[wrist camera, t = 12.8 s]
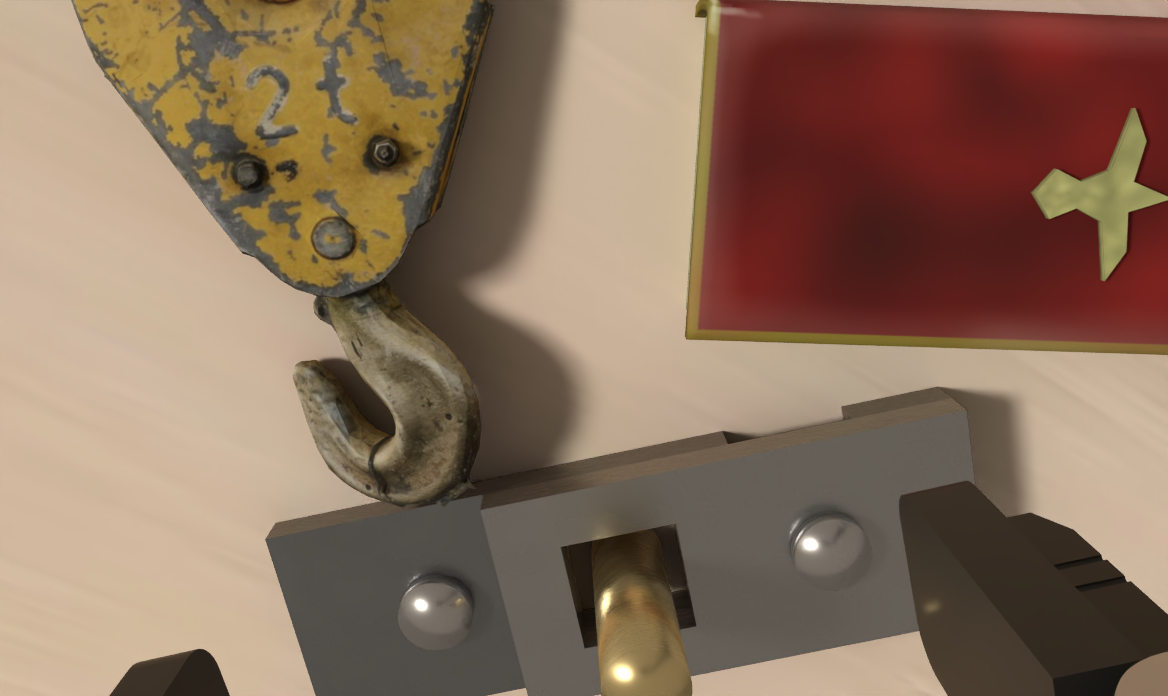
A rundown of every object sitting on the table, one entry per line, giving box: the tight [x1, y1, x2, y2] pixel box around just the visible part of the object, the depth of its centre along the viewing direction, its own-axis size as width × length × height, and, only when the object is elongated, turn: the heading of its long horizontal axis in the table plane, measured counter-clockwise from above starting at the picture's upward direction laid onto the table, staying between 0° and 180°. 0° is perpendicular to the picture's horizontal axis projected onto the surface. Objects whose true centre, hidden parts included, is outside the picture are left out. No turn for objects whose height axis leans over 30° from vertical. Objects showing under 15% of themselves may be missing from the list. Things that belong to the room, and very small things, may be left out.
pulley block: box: [71, 0, 495, 508], centre depth 35 cm, size 14×6×30 cm
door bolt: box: [265, 387, 975, 696], centre depth 41 cm, size 28×9×4 cm, turn 102°
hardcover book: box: [685, 0, 1168, 355], centre depth 37 cm, size 12×21×4 cm, turn 88°
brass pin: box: [591, 529, 692, 696], centre depth 38 cm, size 3×3×10 cm
